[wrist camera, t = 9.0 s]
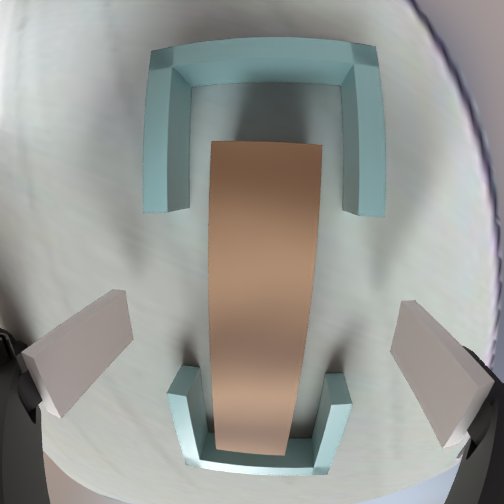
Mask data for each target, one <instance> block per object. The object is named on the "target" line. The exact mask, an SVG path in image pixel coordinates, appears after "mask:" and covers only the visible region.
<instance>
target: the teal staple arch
mask: <svg viewBox="0 0 504 504" xmlns="http://www.w3.org/2000/svg"><path fill="white" fill-rule="evenodd" d="M248 82H297V83H316V84H329V85H339V86H341V99H342V118H343V157H344V175H343V210H344V211H347V212H350V213H352V214H355V215H358V216H375V217H385V197H386V144H385V123H384V109H383V97H382V88H381V79H380V71H379V64H378V58H377V51H376V46H370V45H365V44H359V43H352V42H345V41H337V40H328V39H317V38H301V37H249V38H233V39H222V40H212V41H204V42H197V43H190V44H184V45H179V46H173V47H168V48H163V49H159V50H154V51H151V58H150V65H149V73H148V82H147V93H146V104H145V119H144V138H143V213H161V212H171V211H176V210H180V209H185V208H189V138H190V109H191V89H192V87H196V86H205V85H215V84H229V83H248Z"/></svg>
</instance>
